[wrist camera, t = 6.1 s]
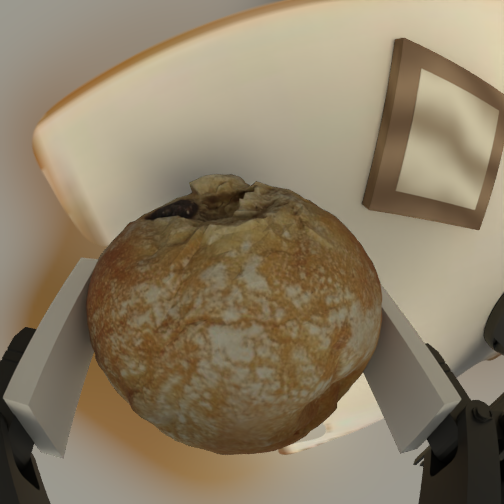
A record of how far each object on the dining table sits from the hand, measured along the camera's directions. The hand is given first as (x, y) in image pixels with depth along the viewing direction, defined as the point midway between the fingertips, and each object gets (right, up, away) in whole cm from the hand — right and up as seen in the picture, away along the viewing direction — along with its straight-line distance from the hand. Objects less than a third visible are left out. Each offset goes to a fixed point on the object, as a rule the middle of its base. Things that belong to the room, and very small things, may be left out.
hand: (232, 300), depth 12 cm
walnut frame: (+20, +13, +14) cm, 27 cm away
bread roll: (0, 0, +1) cm, 1 cm away
